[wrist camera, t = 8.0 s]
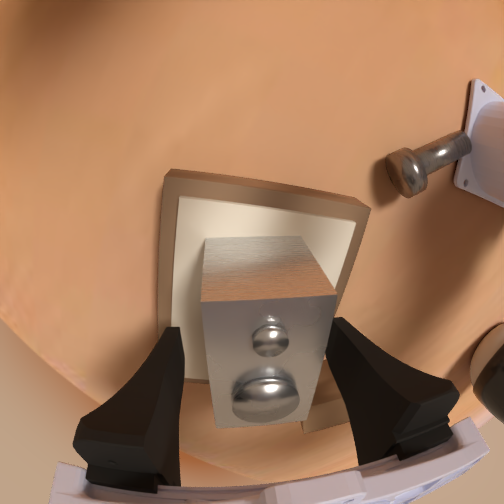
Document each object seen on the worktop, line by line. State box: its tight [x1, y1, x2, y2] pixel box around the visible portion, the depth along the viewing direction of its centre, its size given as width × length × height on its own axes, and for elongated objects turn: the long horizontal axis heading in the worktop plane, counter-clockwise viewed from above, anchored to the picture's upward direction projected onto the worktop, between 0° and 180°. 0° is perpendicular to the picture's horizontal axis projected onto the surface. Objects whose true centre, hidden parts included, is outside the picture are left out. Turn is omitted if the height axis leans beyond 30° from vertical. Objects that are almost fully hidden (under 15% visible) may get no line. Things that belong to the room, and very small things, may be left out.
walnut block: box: [300, 360, 350, 434], centre depth 20 cm, size 4×4×4 cm
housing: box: [201, 236, 338, 428], centre depth 13 cm, size 4×8×6 cm, turn 179°
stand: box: [158, 169, 371, 384], centre depth 17 cm, size 10×13×2 cm
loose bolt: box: [386, 130, 472, 198], centre depth 14 cm, size 6×3×3 cm, turn 116°
